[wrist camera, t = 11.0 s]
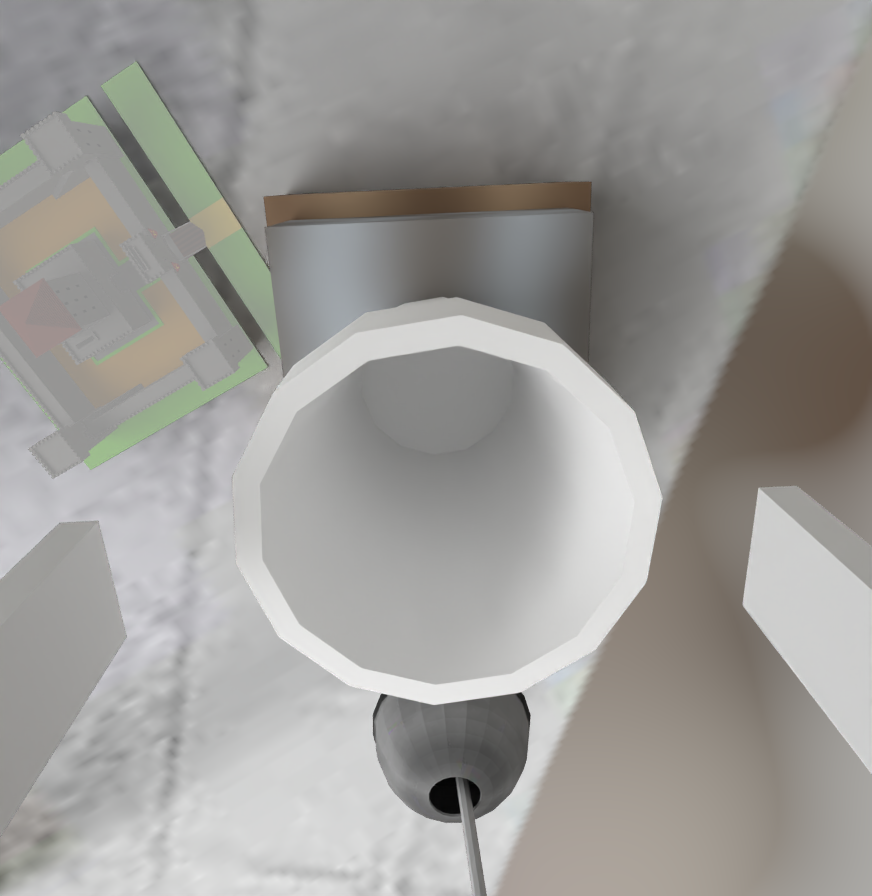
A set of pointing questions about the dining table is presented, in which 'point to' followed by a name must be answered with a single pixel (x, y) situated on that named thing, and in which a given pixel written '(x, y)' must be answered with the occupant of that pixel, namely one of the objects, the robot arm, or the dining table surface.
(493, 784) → the beverage cup
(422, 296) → the block tower
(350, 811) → the dining table surface
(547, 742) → the dining table surface
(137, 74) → the castle model
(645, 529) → the foam cup
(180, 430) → the dining table surface
